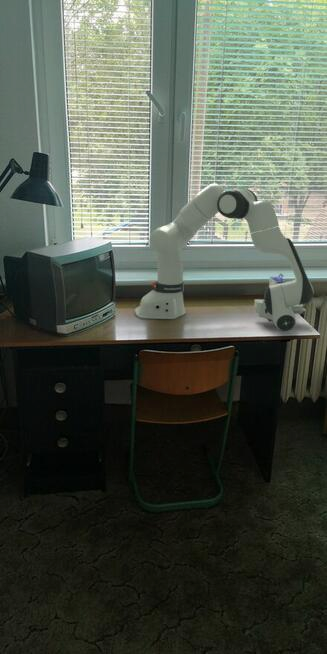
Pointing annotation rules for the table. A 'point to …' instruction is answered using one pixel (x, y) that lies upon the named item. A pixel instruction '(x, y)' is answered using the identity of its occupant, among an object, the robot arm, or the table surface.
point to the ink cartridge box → (276, 280)
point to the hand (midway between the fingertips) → (276, 300)
